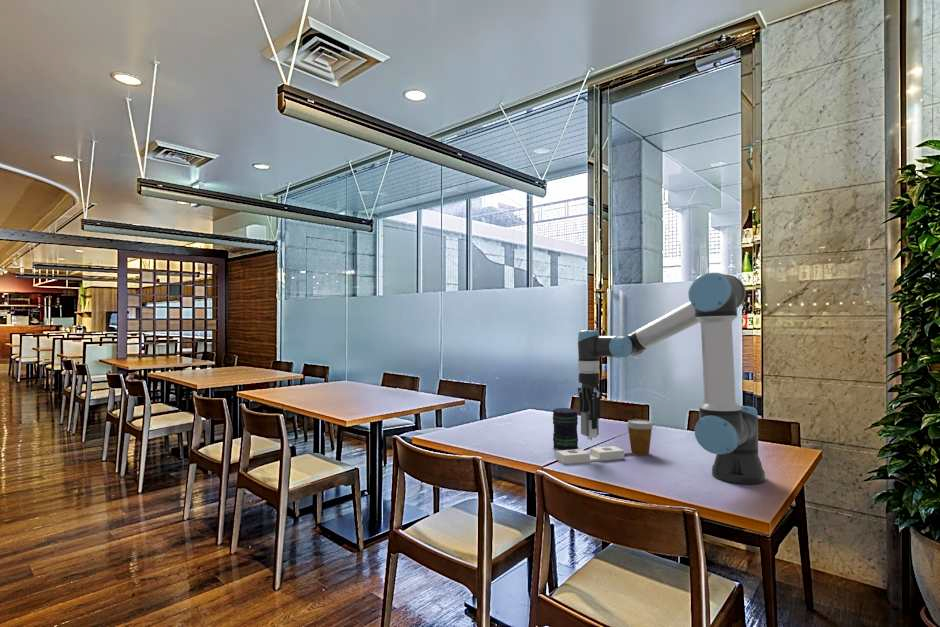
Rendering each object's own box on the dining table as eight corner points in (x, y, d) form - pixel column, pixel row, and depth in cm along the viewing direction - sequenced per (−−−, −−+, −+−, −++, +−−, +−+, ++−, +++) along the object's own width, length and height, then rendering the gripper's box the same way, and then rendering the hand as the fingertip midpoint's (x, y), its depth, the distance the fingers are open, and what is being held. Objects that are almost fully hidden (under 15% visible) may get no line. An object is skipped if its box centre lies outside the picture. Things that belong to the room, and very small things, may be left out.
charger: (598, 440, 187) (598, 411, 188) (586, 441, 186) (585, 412, 186) (593, 437, 191) (592, 409, 191) (581, 438, 190) (580, 410, 190)
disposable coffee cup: (650, 450, 200) (649, 419, 200) (656, 456, 190) (655, 424, 191) (625, 450, 201) (624, 419, 201) (629, 456, 191) (629, 423, 192)
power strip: (638, 457, 190) (638, 448, 190) (564, 464, 182) (564, 455, 182) (627, 452, 197) (627, 444, 197) (555, 459, 189) (555, 450, 189)
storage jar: (559, 443, 212) (559, 407, 213) (582, 446, 207) (581, 409, 207) (548, 448, 204) (548, 410, 205) (571, 452, 199) (571, 413, 199)
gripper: (610, 374, 182) (611, 440, 181) (586, 369, 198) (587, 430, 198) (591, 374, 180) (592, 442, 179) (569, 370, 196) (569, 432, 196)
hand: (589, 436), depth 189 cm, fingers closed on charger, 4 cm apart
